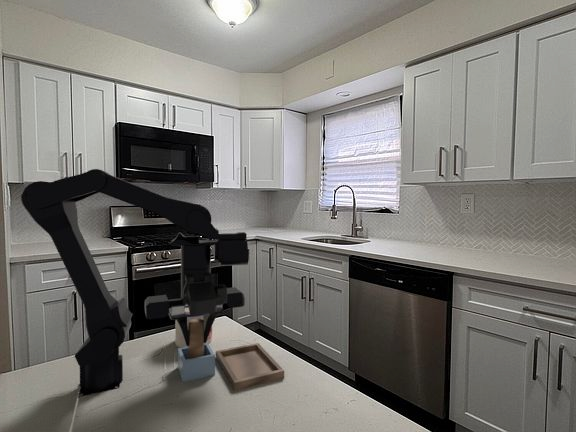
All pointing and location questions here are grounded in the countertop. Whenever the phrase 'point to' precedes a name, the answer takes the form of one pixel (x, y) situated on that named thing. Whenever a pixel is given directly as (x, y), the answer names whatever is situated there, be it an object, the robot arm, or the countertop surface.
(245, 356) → the tray
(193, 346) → the dowel pin
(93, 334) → the robot arm
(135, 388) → the countertop surface
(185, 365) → the holder cup
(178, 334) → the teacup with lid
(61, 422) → the countertop surface
